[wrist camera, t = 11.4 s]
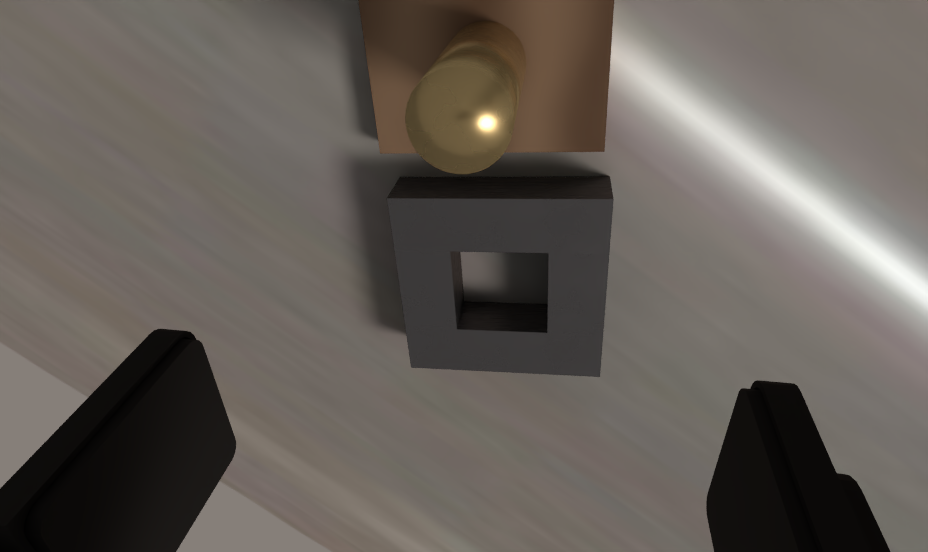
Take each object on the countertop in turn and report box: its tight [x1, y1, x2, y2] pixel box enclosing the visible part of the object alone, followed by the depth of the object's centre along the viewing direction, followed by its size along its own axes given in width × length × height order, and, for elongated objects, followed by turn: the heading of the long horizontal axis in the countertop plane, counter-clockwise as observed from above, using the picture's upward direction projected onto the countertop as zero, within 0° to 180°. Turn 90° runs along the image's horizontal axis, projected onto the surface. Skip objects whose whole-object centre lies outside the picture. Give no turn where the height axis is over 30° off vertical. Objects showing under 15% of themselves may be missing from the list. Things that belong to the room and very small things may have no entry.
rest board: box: [358, 0, 614, 153], centre depth 30 cm, size 12×9×2 cm
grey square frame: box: [387, 177, 613, 377], centre depth 36 cm, size 12×12×3 cm
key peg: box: [405, 21, 526, 174], centre depth 25 cm, size 4×4×9 cm
